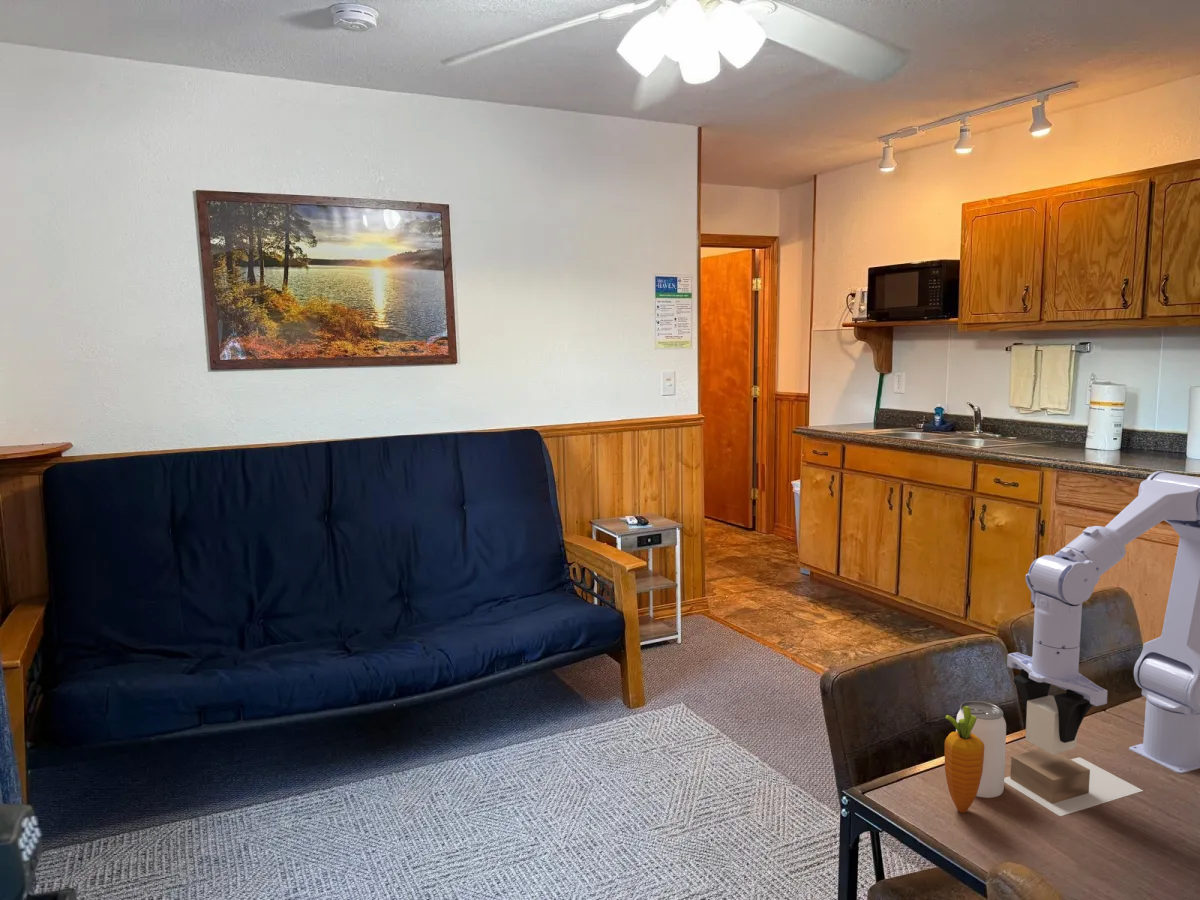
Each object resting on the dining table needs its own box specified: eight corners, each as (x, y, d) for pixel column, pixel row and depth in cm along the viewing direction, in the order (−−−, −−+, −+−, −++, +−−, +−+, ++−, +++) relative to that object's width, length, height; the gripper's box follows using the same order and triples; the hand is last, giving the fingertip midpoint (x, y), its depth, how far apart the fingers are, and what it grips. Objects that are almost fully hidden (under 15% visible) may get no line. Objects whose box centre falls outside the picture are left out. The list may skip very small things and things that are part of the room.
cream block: (1048, 733, 117) (1050, 695, 116) (1076, 748, 112) (1078, 708, 112) (1025, 739, 115) (1027, 700, 114) (1052, 754, 111) (1054, 714, 110)
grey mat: (1079, 759, 122) (1079, 757, 122) (1143, 793, 113) (1143, 790, 113) (999, 781, 117) (999, 779, 117) (1059, 818, 108) (1059, 816, 107)
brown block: (1045, 768, 119) (1047, 746, 119) (1088, 792, 113) (1090, 769, 112) (1010, 778, 117) (1011, 756, 116) (1051, 803, 110) (1053, 780, 110)
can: (1009, 802, 112) (1012, 721, 110) (960, 798, 113) (962, 718, 111) (996, 777, 118) (999, 701, 116) (949, 774, 119) (952, 698, 118)
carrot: (965, 828, 106) (969, 722, 104) (934, 809, 110) (937, 707, 108) (990, 817, 108) (994, 713, 106) (958, 799, 113) (962, 699, 111)
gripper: (992, 628, 117) (989, 715, 119) (1082, 664, 104) (1076, 762, 106) (1028, 621, 120) (1024, 707, 121) (1120, 656, 106) (1114, 751, 108)
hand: (1051, 732), depth 114 cm, fingers closed on cream block, 4 cm apart
